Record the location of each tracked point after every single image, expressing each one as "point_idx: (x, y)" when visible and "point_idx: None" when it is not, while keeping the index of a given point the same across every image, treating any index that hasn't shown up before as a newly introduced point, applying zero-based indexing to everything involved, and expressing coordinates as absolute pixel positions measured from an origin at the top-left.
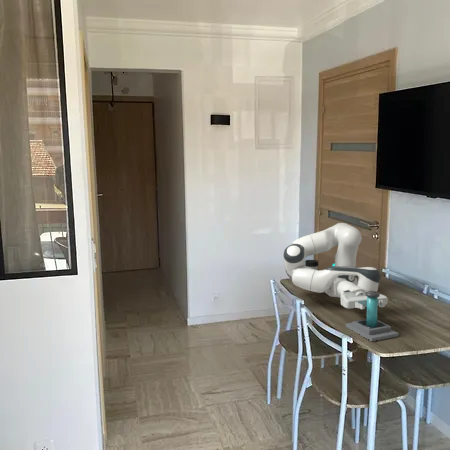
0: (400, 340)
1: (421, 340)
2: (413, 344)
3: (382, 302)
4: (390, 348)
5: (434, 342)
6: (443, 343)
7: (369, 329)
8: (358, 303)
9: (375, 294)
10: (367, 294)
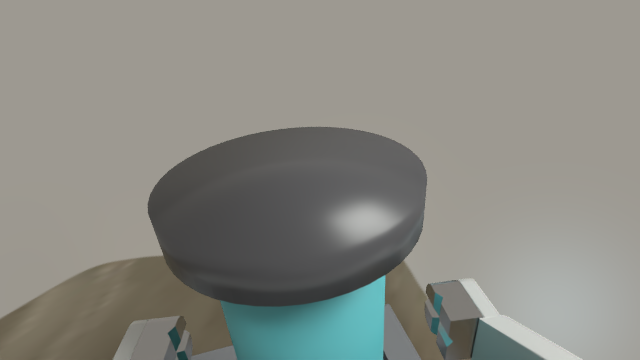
0: (224, 321)
1: (124, 313)
2: None
3: (120, 356)
4: None
5: (94, 291)
6: (71, 281)
7: (387, 341)
8: (530, 344)
9: (281, 139)
10: (401, 148)
